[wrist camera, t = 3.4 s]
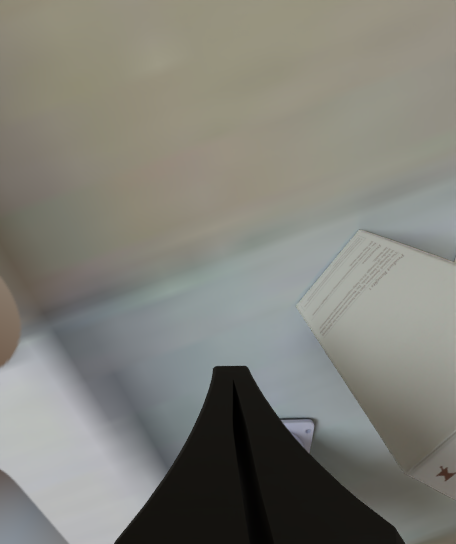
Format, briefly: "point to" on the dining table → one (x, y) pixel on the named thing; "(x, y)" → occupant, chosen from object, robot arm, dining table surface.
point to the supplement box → (394, 347)
